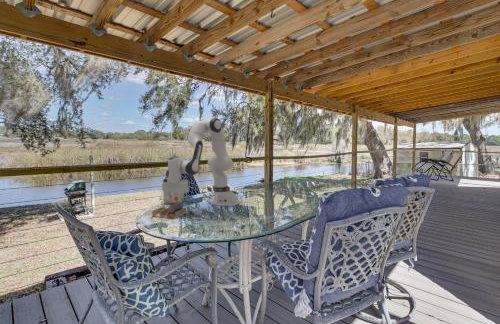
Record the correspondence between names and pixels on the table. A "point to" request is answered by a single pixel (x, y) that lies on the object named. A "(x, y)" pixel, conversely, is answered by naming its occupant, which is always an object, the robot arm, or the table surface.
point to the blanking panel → (176, 207)
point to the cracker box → (174, 199)
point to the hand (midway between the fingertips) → (176, 198)
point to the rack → (168, 213)
